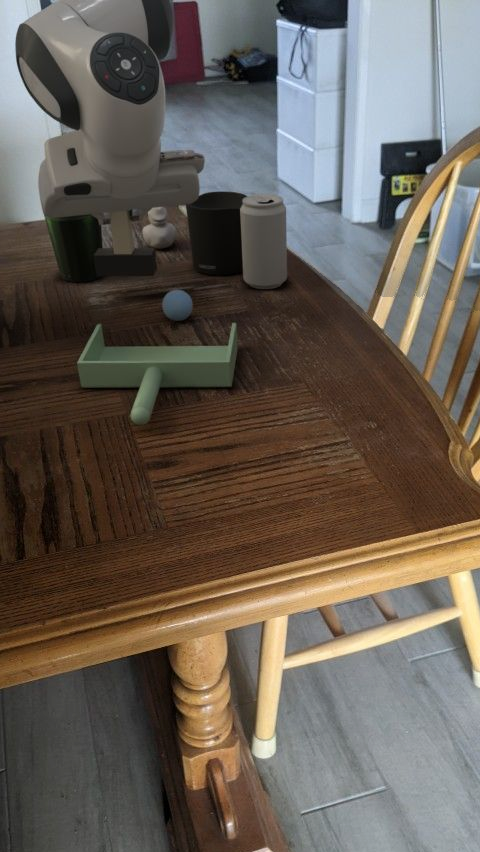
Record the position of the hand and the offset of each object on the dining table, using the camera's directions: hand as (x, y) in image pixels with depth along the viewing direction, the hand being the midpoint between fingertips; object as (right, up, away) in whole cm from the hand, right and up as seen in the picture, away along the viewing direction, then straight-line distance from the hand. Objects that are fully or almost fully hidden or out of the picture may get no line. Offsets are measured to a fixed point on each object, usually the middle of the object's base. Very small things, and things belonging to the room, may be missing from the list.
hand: (119, 218), depth 106 cm
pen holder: (+13, -3, +14) cm, 19 cm away
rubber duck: (+2, +3, +23) cm, 23 cm away
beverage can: (+20, -7, +8) cm, 23 cm away
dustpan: (+8, -25, -18) cm, 32 cm away
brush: (0, -6, +4) cm, 7 cm away
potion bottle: (-8, -5, +13) cm, 16 cm away
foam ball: (+8, -14, -2) cm, 17 cm away
